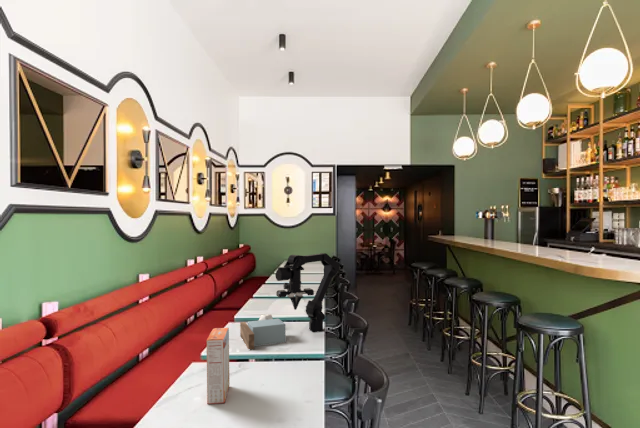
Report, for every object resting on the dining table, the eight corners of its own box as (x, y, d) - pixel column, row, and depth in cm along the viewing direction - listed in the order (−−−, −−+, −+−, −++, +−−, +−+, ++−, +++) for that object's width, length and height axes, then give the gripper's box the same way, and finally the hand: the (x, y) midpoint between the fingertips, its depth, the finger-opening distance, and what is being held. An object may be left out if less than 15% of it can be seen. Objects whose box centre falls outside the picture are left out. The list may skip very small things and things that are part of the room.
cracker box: (212, 386, 142) (212, 327, 142) (230, 386, 143) (229, 327, 143) (205, 404, 128) (205, 339, 128) (224, 403, 129) (224, 338, 129)
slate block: (278, 336, 205) (278, 318, 206) (285, 342, 194) (285, 323, 194) (247, 339, 199) (247, 321, 200) (252, 346, 188) (252, 327, 188)
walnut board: (245, 335, 206) (245, 321, 206) (254, 349, 183) (254, 334, 183) (240, 336, 205) (240, 322, 205) (248, 350, 182) (248, 334, 183)
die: (266, 334, 210) (277, 317, 214) (252, 325, 212) (263, 308, 215) (268, 335, 218) (278, 319, 222) (255, 327, 220) (265, 311, 223)
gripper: (307, 276, 218) (307, 305, 218) (273, 278, 212) (273, 307, 211) (314, 279, 208) (314, 309, 207) (279, 281, 201) (279, 312, 201)
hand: (295, 309), depth 207 cm, fingers closed
